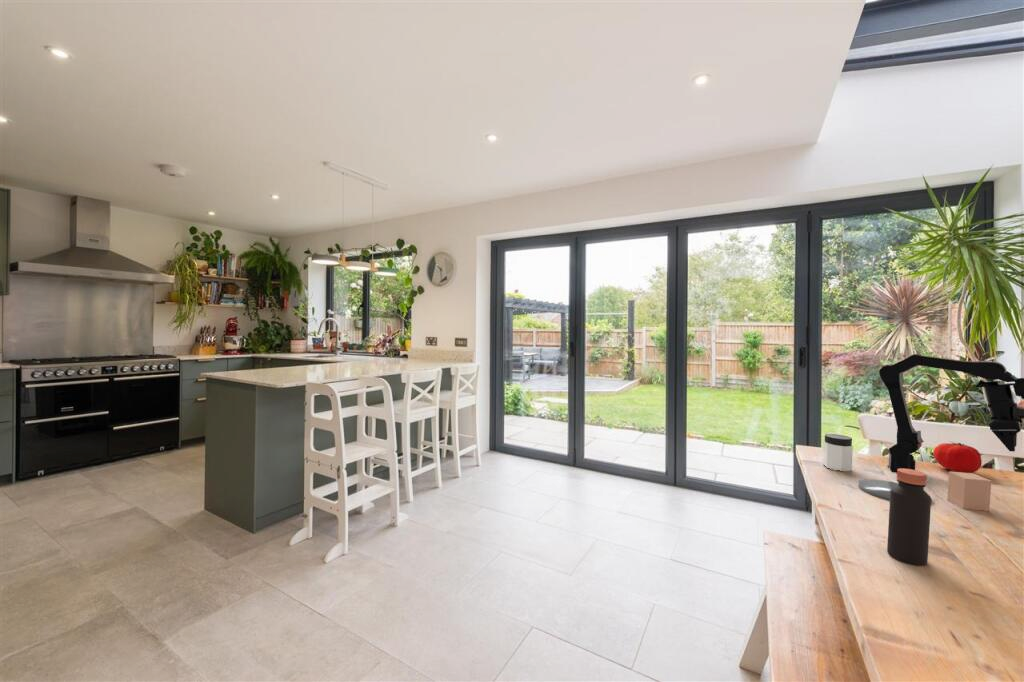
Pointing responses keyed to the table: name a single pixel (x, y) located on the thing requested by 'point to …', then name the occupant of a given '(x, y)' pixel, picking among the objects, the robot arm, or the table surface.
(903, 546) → the bottle
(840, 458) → the jar
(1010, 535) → the table surface
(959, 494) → the tan rectangular block
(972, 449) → the tomato
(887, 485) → the plate
